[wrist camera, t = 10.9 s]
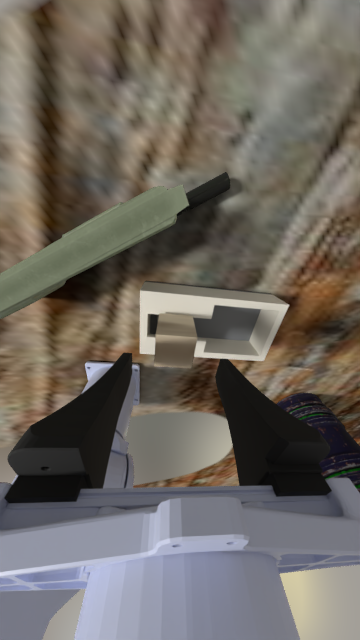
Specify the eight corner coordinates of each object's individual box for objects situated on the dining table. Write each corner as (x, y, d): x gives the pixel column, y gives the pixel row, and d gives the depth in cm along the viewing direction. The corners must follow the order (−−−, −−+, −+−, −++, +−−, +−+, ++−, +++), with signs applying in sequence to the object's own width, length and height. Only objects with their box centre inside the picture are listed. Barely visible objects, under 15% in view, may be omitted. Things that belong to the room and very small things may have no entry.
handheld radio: (13, 274, 19) (219, 160, 15) (36, 298, 20) (228, 201, 17) (-56, 296, 13) (251, 120, 9) (-16, 328, 15) (260, 189, 11)
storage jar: (271, 397, 31) (346, 519, 18) (325, 388, 30) (442, 506, 17) (269, 426, 36) (327, 540, 23) (315, 418, 35) (402, 530, 22)
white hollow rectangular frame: (271, 293, 21) (289, 304, 18) (251, 344, 25) (263, 361, 21) (145, 280, 20) (140, 290, 16) (144, 336, 23) (139, 353, 20)
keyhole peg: (188, 329, 22) (195, 371, 16) (156, 326, 22) (149, 369, 15) (193, 299, 20) (203, 333, 14) (158, 296, 20) (150, 329, 13)
